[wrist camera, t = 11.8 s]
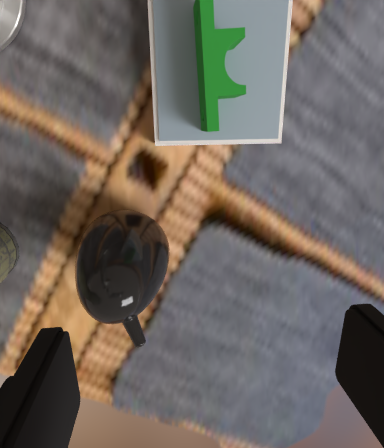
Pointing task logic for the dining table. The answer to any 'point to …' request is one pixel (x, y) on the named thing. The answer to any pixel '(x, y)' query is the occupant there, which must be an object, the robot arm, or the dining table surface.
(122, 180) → the dining table surface
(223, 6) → the stand
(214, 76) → the pipe clamp
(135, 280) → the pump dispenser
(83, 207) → the dining table surface
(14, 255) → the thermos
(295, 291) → the dining table surface
